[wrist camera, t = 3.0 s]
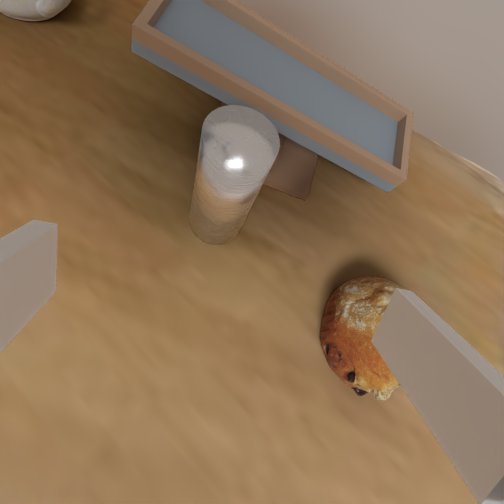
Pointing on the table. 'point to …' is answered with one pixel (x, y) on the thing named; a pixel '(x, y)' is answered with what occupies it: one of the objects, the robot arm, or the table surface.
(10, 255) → the robot arm
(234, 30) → the rectangular tray
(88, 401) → the table surface
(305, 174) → the fulcrum
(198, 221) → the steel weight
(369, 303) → the bread roll
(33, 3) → the teacup
